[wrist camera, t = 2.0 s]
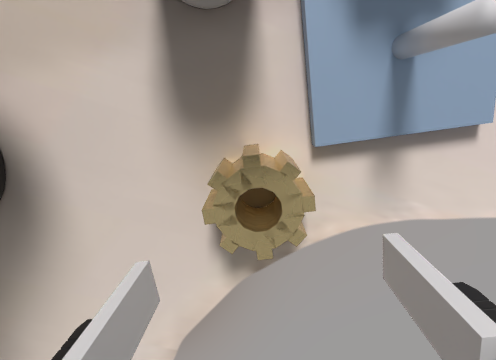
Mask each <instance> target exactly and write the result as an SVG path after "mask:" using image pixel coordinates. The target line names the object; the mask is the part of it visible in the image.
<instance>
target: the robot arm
mask: <svg viewBox="0 0 496 360" xmlns="http://www.w3.org/2000/svg"><path fill="white" fill-rule="evenodd" d="M4 185H5V169H4V163H3V159H2V155H1V152H0V199H1V197H2V194H3V190H4ZM383 279H384V280H385V281H386V283H387V284H388V286H389V287H390V288H391V290H392V291H393V292H394V294H395V295H396V297H397V298H398V299H399V301H400V302H401V304H402V305H403V306H404V308H405V309H406V310H407V312H408V313H409V315H410V316H411V317H412V319H413V320H414V321H415V323H416V324H417V326H418V327H419V328H420V330H421V331H422V332H423V334H424V335H425V337H426V338H427V339H428V341H429V342H430V344H431V345H432V346H433V348H434V349H435V350H436V352H437V353H438V355H439V356H440V357H441V359H442V360H496V305H495V304H493V303H492V302H491V301H489V299H487V298H486V297H485V296H484V295H482V293H480V292H479V291H478V290H477V289H475V288H473V287H471V286H469V285H467V284H465V283H463V282H459V283H451V282H450V281H449V280H448V279H447V278H446V277H445V276H443V275H442V274H441V273H440V272H439V271H438V270H437V269H436V268H435V267H434V266H433V265H431V264H430V263H429V262H428V261H427V260H426V259H425V258H424V257H423V256H422V255H420V253H419V252H417V251H416V250H415V249H414V248H413V247H412V246H411V245H410V244H409V243H408V242H407V241H405V240H404V239H403V238H402V237H401V236H400V235H399V234H398V233H392V234H383ZM159 302H160V298H159V294H158V291H157V287H156V284H155V280H154V276H153V273H152V269H151V266H150V262H149V261H141V262H136V263H135V264H134V266H133V267H132V268H131V270H130V271H129V272H128V274H127V275H126V276H125V278H124V279H123V280H122V282H121V283H120V284H119V285H118V287H117V288H116V289H115V291H114V292H113V293H112V295H111V296H110V297H109V299H108V300H107V301H106V303H105V304H104V305H103V306H102V308H101V309H100V310H99V312H98V313H97V314H96V316H95V317H94V318H93V319H88V320H86V321H85V322H84V323H83V324H82V325H80V326H79V327H78V328H77V329H76V330H75V331H74V332H73V334H72V335H71V336H70V337H69V339H68V341H66V342H65V344H64V345H63V346H62V347H61V350H59V351H58V352H57V353H56V355H55V356H54V357H53V358H52V360H131V359H132V357H133V355H134V353H135V351H136V349H137V347H138V345H139V343H140V340H141V338H142V336H143V334H144V332H145V330H146V328H147V326H148V324H149V322H150V320H151V318H152V316H153V314H154V312H155V310H156V308H157V306H158V304H159Z"/></svg>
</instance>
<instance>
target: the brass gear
mask: <svg viewBox="0 0 496 360" xmlns="http://www.w3.org/2000/svg"><path fill="white" fill-rule="evenodd" d="M300 173H301V171H300V169H299V168H298V166H297V165H296V163H295V162H294V160H293V159H292V158H291V157H290V156H289V155H287V154H286V153H285V152H283V151H282V150H281V151H280V152H279V153H278V154H277V156H276V157H275V158H273V157H271V156H268V155H266V154H263V153H261V154H259V146H258V144H254V145H247V146H244V150H243V154H242V157H241V158H240V159H238V160H237V161H236V162H234V163H233V164H232V163H231V162H229V161H228V160H227V159H225V158H224V159H223V160H222V161H221V163H220V164H219V166H218V167H217V168H216V170H215V172H214V174H213V175H212V177H211V179H210V181H209V182H208V185H209V186H211V187H212V188H214V189H213V190H211V192H210V194H209V196H208V198H207V200H206V202H205V204H204V206H203V208H202V213H203V218H204V223H205V225H206V224H214V223H216V225H217V227H218V228H219V230H220V231H221V232H222V237H221V241H220V246H221V247H222V248H224V249H225V250H227V251H228V252H230V253H231V254H233V253H234V251H235V250H236V249H237V248H238V247H239V246H241V247H243V248H246V249H249V250H252V251H256V252H257V258H258V260H264V259H273V253H272V249H274V248H277V247H278V246H280V245H281V244H283V243H284V242H286V241H287V240H288V241H289V242H291V243H292V244H294V245H295V246H296V247H297V246H298V245H299V244H300V243H301V241H302V240H303V239H304V238H305V237H306V236H307V234H306V232H305V229H304V227H303V224H302V222H301V221H302V219H303V217H304V212H311V211H316V209H315V196H314V194H313V193H312V191H311V189H310V188H309V186H308V185H307V183H306V182H305V180H304V179H303V178H296V177H297V176H298V175H299V174H300ZM261 187H262V188H264V189H267V190H270V191H272V192H274V193H275V194H276V196H275V198H274V200H273V202H271V203H270V204H268V205H267V206H266V207H261V208H253V207H251V206H248V205H246V204H245V203H244V202H243V201H242V199H241V198H240V197H239V196H240V195H242V194H243V193H244V192H246V191H247V190H248V189H254V188H261Z"/></svg>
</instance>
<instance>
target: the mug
mask: <svg viewBox="0 0 496 360" xmlns="http://www.w3.org/2000/svg"><path fill="white" fill-rule="evenodd" d="M181 1H183V2H185V3H186V4H188V5H191V6H194V7H197V8H204V9H210V8H217V7H221V6H223V5H225V4H227V3H229V2H231V1H232V0H181Z"/></svg>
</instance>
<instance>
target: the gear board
mask: <svg viewBox="0 0 496 360" xmlns="http://www.w3.org/2000/svg"><path fill="white" fill-rule="evenodd" d="M301 8H302V21H303V34H304V47H305V60H306V73H307V86H308V99H309V111H310V124H311V137H312V145H313V146H315V147H318V146H325V145H333V144H340V143H347V142H355V141H362V140H369V139H376V138H384V137H391V136H398V135H405V134H413V133H420V132H427V131H434V130H442V129H449V128H456V127H463V126H471V125H478V124H485V123H492V122H493V117H494V107H495V98H496V0H301Z"/></svg>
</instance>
